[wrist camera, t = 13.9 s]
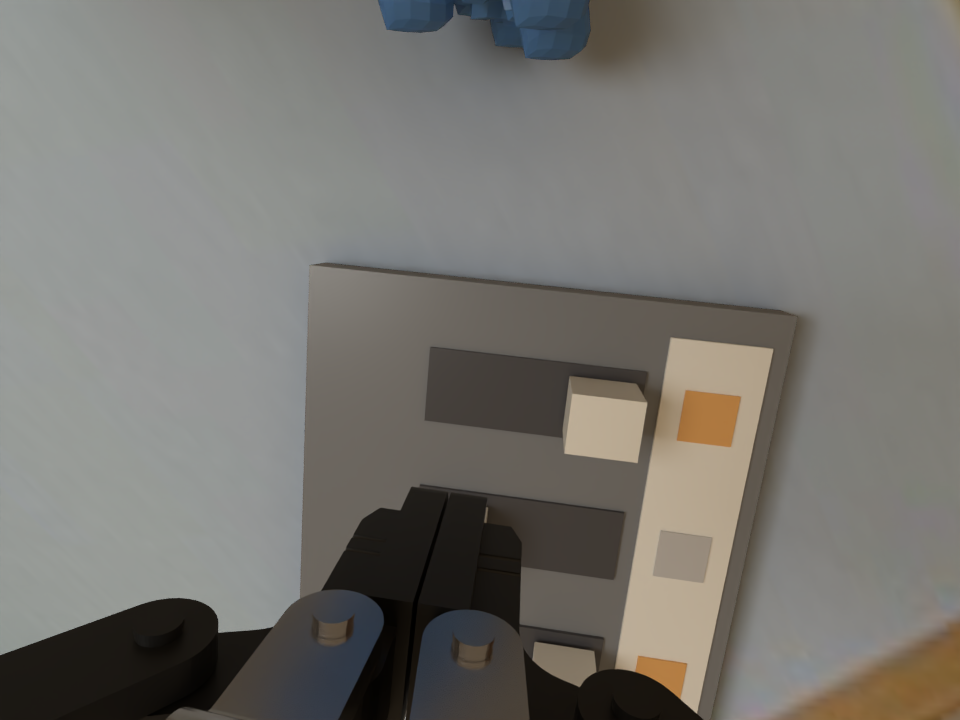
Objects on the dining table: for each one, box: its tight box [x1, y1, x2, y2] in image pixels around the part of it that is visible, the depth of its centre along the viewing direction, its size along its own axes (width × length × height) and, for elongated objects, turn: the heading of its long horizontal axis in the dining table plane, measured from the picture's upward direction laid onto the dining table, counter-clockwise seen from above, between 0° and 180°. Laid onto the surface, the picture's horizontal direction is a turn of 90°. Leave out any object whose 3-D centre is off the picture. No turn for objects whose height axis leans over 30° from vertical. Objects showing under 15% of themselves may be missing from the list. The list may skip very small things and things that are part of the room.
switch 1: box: [532, 642, 596, 687], centre depth 29 cm, size 3×3×3 cm
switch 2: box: [563, 376, 647, 463], centre depth 26 cm, size 3×3×3 cm
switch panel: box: [300, 263, 798, 720], centre depth 30 cm, size 22×24×2 cm
